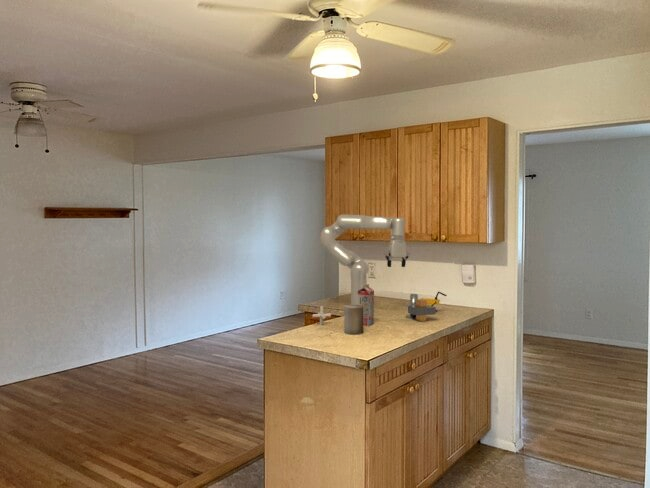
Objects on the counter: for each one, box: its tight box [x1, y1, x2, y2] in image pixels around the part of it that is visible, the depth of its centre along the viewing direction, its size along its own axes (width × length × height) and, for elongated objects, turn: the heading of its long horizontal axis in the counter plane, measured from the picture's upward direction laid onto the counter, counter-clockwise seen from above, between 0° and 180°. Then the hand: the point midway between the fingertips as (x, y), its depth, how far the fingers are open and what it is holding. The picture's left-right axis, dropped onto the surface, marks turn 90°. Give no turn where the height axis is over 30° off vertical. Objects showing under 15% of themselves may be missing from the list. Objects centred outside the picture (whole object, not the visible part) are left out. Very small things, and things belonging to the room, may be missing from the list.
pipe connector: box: [311, 305, 332, 326], centre depth 274 cm, size 10×10×10 cm
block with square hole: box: [404, 293, 437, 320], centre depth 292 cm, size 12×18×14 cm, turn 24°
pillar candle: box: [343, 304, 364, 335], centre depth 255 cm, size 10×10×15 cm
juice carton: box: [358, 283, 375, 327], centre depth 274 cm, size 7×7×22 cm
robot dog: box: [420, 291, 447, 313], centre depth 315 cm, size 6×18×13 cm, turn 61°
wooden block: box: [415, 298, 428, 322], centre depth 288 cm, size 4×4×12 cm
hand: (396, 266), depth 302 cm, fingers open, 9 cm apart
